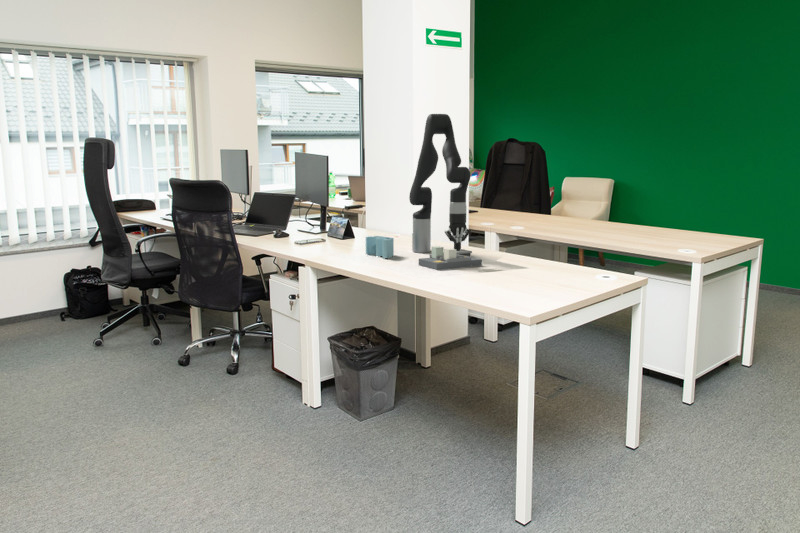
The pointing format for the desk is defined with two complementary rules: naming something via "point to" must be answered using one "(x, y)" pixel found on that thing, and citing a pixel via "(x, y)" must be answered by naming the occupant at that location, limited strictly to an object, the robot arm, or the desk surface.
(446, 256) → the cream tab
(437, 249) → the pale green block
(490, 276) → the desk surface
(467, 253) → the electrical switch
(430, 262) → the switch panel
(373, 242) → the squiggly pen holder
